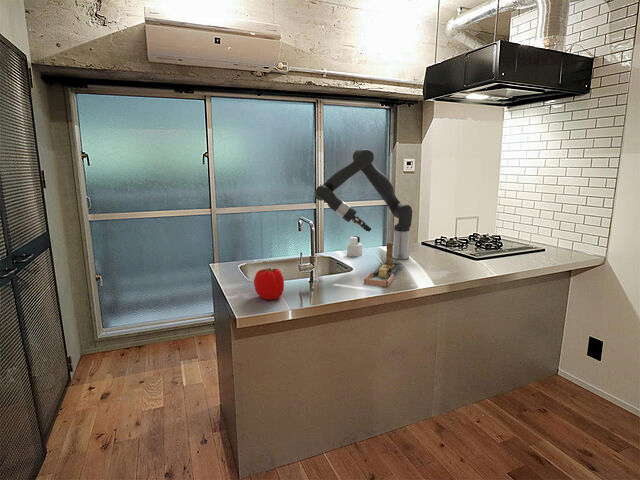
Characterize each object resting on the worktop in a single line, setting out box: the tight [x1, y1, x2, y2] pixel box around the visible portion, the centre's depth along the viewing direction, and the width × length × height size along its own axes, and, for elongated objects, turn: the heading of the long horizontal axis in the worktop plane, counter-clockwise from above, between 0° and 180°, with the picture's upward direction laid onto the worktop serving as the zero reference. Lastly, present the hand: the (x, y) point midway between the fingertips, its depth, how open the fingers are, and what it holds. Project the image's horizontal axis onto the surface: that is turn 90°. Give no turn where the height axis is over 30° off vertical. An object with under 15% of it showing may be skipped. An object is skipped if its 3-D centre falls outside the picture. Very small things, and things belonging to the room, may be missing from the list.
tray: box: [363, 271, 395, 288], centre depth 190 cm, size 13×12×3 cm
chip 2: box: [382, 265, 391, 275], centre depth 202 cm, size 4×4×4 cm
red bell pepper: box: [253, 267, 285, 301], centre depth 170 cm, size 16×14×14 cm
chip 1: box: [378, 267, 389, 279], centre depth 198 cm, size 4×4×4 cm
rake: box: [385, 241, 395, 272], centre depth 208 cm, size 7×5×15 cm
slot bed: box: [372, 261, 404, 280], centre depth 206 cm, size 22×13×3 cm, turn 157°
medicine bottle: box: [346, 235, 363, 258], centre depth 243 cm, size 7×7×12 cm
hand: (369, 230), depth 209 cm, fingers open, 8 cm apart
